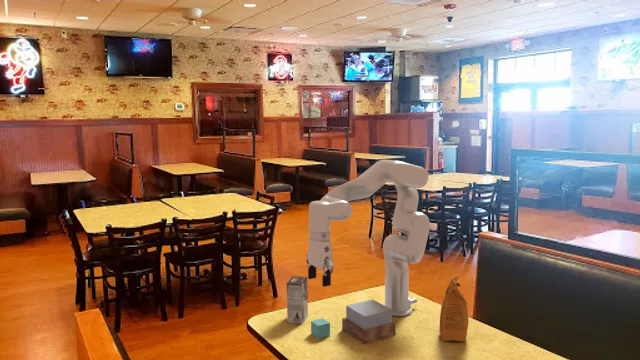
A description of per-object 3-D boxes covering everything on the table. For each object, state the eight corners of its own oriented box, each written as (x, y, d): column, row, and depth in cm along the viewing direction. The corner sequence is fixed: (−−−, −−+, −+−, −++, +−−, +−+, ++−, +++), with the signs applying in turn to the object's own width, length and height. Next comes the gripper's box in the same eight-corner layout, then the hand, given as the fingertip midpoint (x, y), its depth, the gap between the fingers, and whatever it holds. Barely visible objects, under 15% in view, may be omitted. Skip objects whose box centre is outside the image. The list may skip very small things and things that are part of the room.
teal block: (322, 330, 182) (322, 318, 182) (329, 335, 178) (329, 322, 178) (311, 334, 180) (311, 321, 179) (318, 339, 176) (318, 325, 175)
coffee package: (467, 330, 182) (469, 273, 179) (468, 345, 170) (469, 284, 167) (439, 327, 184) (441, 270, 182) (438, 341, 173) (440, 281, 170)
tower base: (372, 322, 190) (372, 310, 190) (395, 335, 178) (395, 322, 178) (342, 331, 183) (342, 318, 182) (364, 345, 171) (364, 331, 171)
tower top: (372, 311, 188) (372, 299, 188) (391, 322, 178) (391, 309, 177) (346, 318, 182) (346, 305, 182) (364, 330, 172) (364, 316, 171)
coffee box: (292, 313, 198) (292, 275, 197) (308, 315, 197) (307, 276, 195) (286, 323, 190) (286, 283, 188) (303, 324, 188) (302, 284, 186)
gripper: (341, 239, 169) (341, 287, 171) (315, 229, 184) (315, 274, 186) (323, 241, 165) (323, 290, 167) (298, 232, 180) (298, 277, 182)
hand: (319, 282), depth 176 cm, fingers open, 9 cm apart
